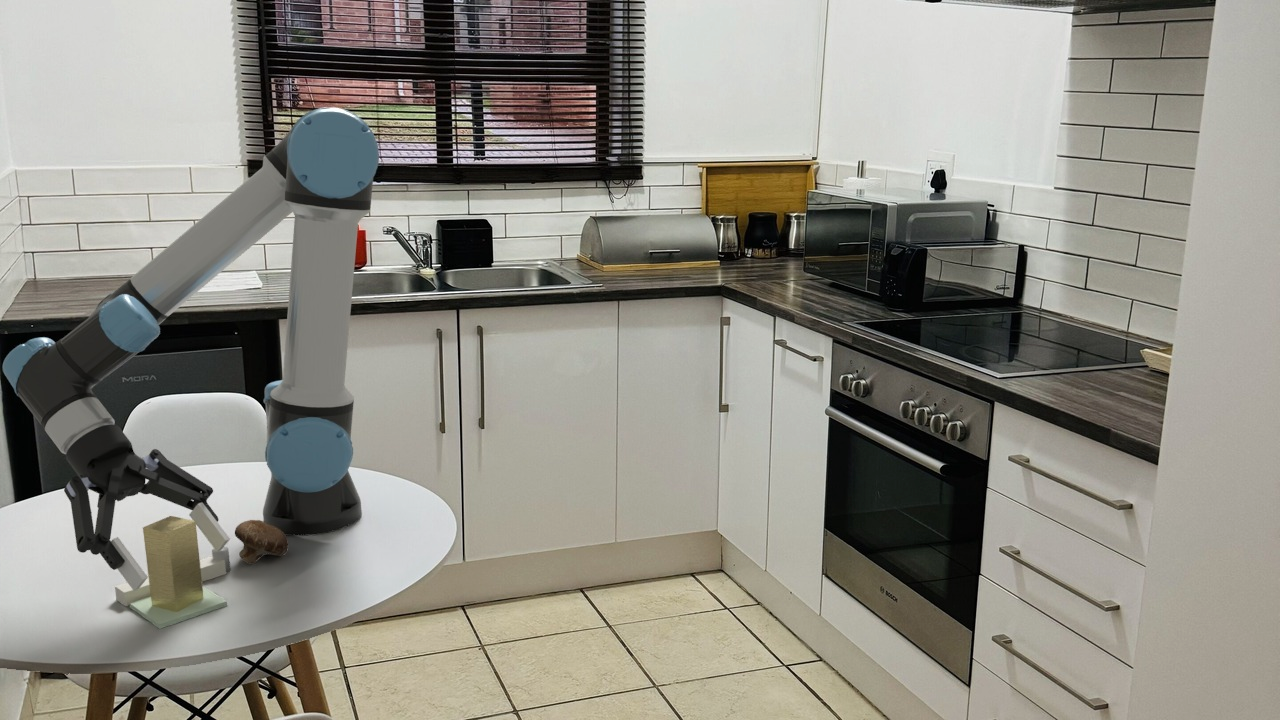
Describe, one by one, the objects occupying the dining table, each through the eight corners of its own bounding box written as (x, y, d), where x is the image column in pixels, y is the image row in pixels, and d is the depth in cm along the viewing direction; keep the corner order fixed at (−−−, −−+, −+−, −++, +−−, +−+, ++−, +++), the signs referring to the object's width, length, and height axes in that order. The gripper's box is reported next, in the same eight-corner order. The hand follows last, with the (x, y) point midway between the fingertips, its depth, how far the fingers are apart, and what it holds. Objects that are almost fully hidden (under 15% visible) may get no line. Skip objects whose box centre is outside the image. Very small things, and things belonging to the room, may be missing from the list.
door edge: (224, 565, 158) (222, 544, 157) (234, 571, 156) (232, 550, 155) (116, 599, 147) (113, 577, 147) (125, 606, 145) (123, 584, 145)
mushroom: (224, 553, 154) (243, 512, 156) (223, 554, 162) (241, 515, 164) (278, 574, 156) (297, 533, 158) (274, 574, 164) (292, 535, 166)
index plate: (195, 585, 151) (195, 581, 151) (227, 605, 146) (226, 601, 145) (130, 607, 145) (129, 603, 145) (159, 628, 139) (159, 624, 139)
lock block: (179, 592, 148) (170, 515, 146) (203, 598, 146) (195, 521, 144) (151, 605, 144) (142, 527, 142) (176, 612, 142) (167, 532, 140)
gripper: (154, 431, 159) (241, 545, 156) (-9, 484, 137) (89, 618, 134) (177, 400, 155) (267, 516, 152) (14, 449, 133) (114, 586, 130)
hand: (184, 564), depth 143 cm, fingers open, 13 cm apart
